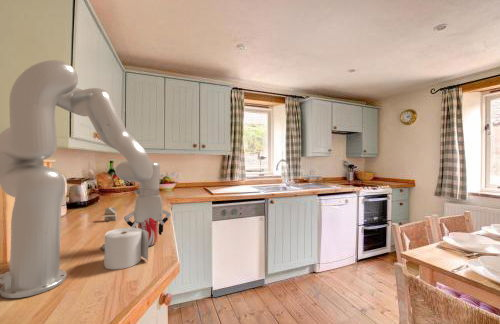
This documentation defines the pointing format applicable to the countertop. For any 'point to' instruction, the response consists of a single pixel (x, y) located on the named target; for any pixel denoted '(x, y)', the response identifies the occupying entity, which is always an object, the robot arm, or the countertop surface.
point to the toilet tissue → (125, 247)
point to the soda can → (150, 229)
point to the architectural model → (110, 214)
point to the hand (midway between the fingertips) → (147, 235)
